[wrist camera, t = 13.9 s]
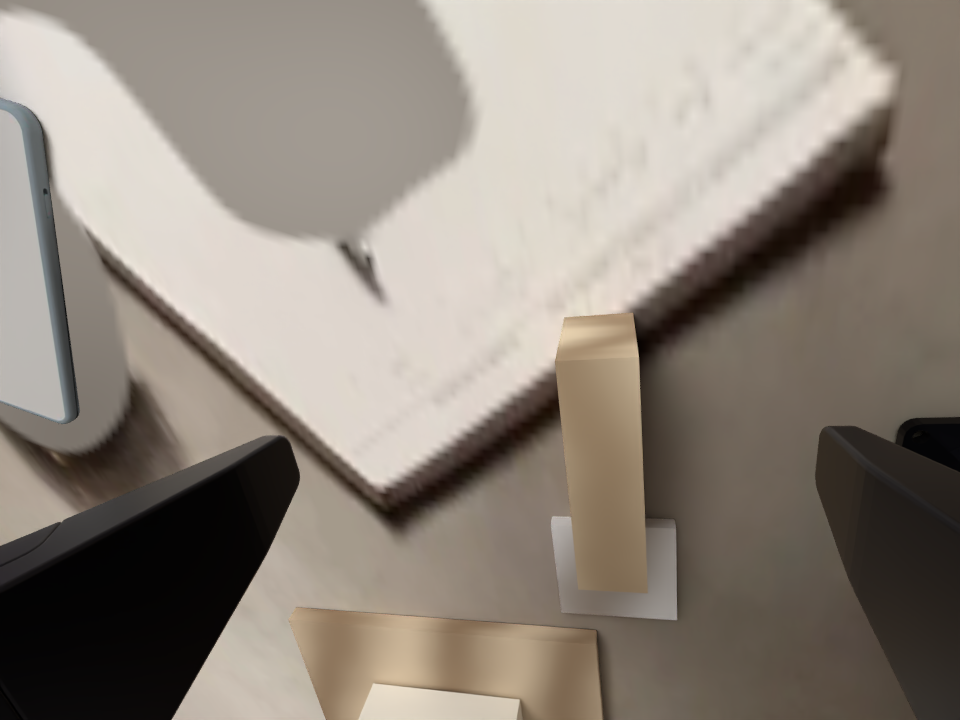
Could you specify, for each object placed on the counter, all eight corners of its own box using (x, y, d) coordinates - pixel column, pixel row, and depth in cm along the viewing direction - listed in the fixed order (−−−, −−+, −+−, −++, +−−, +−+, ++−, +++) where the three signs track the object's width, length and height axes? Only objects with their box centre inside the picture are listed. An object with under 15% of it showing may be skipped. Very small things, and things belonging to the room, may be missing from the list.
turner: (671, 309, 19) (687, 354, 15) (675, 609, 24) (687, 695, 20) (529, 319, 20) (512, 363, 16) (562, 602, 25) (554, 681, 22)
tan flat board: (596, 630, 25) (595, 645, 25) (611, 809, 31) (611, 825, 30) (296, 607, 29) (288, 619, 29) (355, 769, 35) (349, 783, 34)
